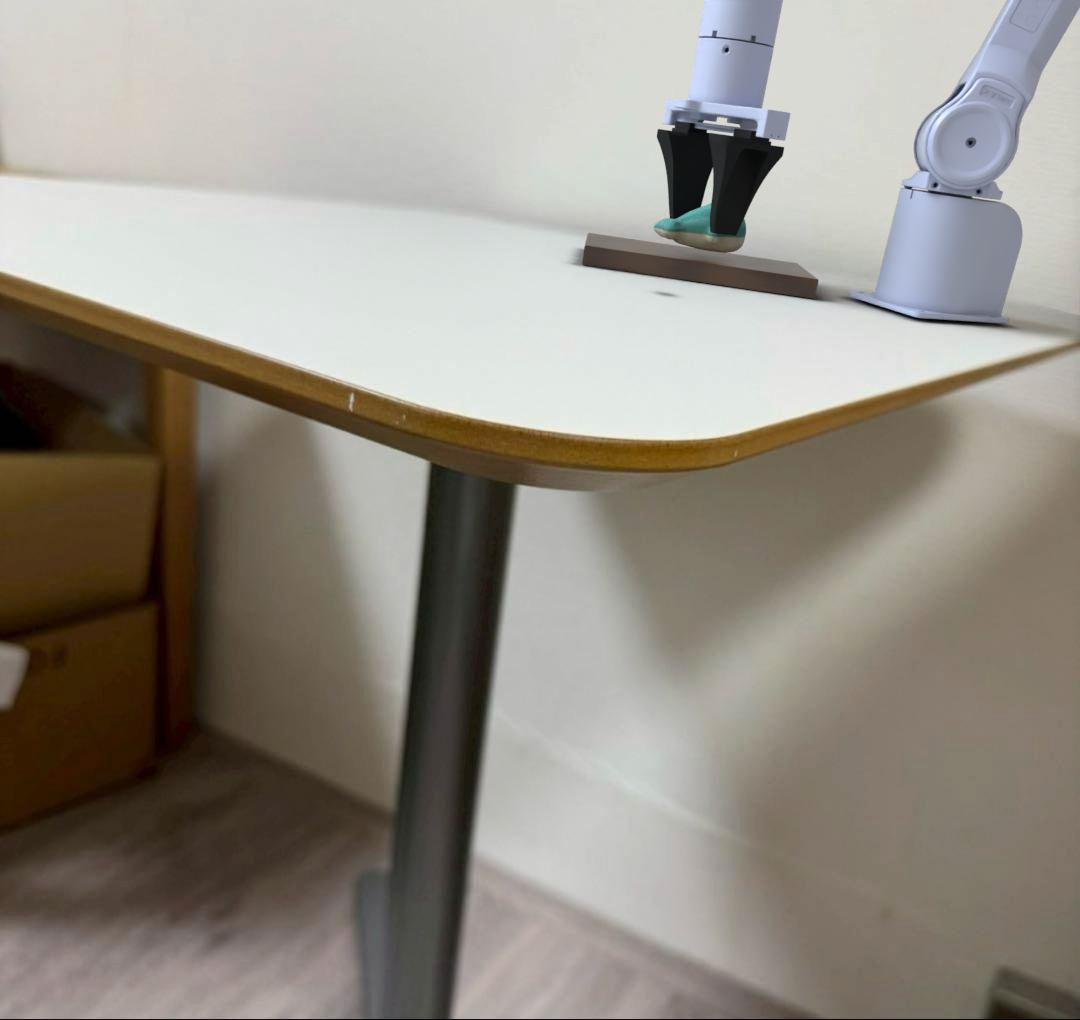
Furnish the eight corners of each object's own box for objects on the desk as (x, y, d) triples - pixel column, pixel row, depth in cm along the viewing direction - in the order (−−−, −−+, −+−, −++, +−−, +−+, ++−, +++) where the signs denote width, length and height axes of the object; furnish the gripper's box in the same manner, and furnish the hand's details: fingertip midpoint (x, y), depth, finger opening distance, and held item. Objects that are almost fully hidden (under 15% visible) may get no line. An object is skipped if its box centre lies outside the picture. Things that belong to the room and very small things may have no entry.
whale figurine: (754, 258, 83) (764, 209, 82) (668, 249, 81) (677, 198, 80) (723, 247, 88) (732, 200, 87) (642, 238, 86) (650, 190, 85)
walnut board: (793, 280, 90) (797, 263, 90) (814, 299, 81) (819, 279, 80) (585, 250, 90) (587, 232, 90) (581, 265, 81) (584, 245, 81)
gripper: (643, 35, 84) (616, 210, 89) (745, 34, 72) (707, 238, 77) (717, 49, 87) (687, 218, 92) (828, 50, 75) (786, 245, 80)
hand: (701, 228), depth 84 cm, fingers closed on whale figurine, 6 cm apart
